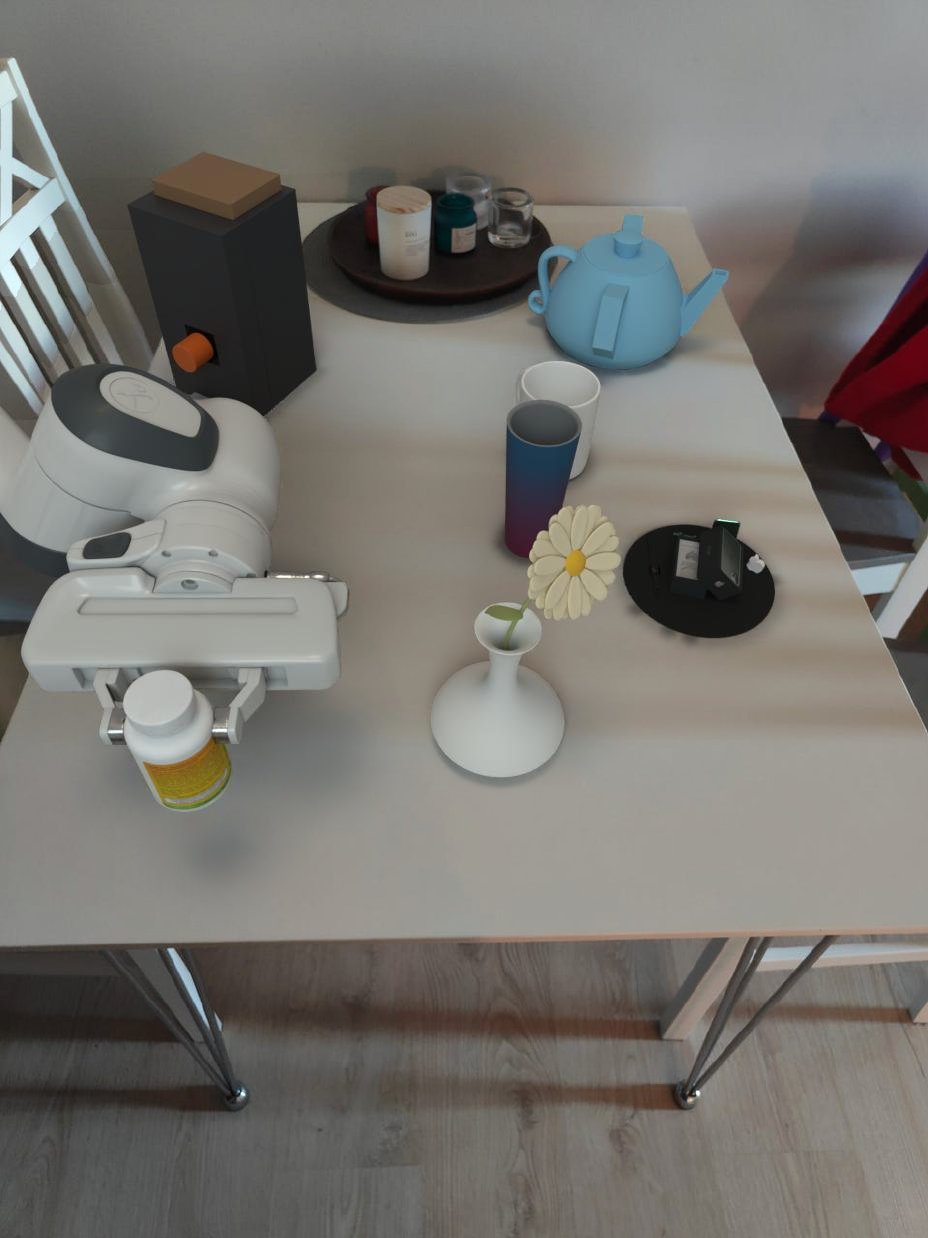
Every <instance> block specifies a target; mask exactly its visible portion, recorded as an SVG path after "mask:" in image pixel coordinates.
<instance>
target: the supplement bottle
mask: <svg viewBox="0 0 928 1238" xmlns="http://www.w3.org/2000/svg"><path fill="white" fill-rule="evenodd" d="M122 706H123V707H122V708H124V711H125V713H126V715H127V716H126V719H125V723H124V737H125V740H126V743H127V745H126V746H127V748H128V750H129V752H130V754H131V756H132V758H133V760H134V761H135V764H136V766H137V768H138V769H139V771H140V773H141V776H142V778H143V780H144V781H145V785H147V787H148V790H149V792H150V793H151V795H152V796H153V798H154V799H155V801H156V802H157V803H158V804H160V806H162V807H164V808H165V809H167V810H170V811H173V812H177V813H190V812H191V813H192V812H196V811H200V810H203V809H205V808H207V807H209V806H211V805H212V804H214V803H215V802H217V800H219V799H220V798H221V797H222V796H223V795H224V793H225V792H226V791H227V789H228V787H229V785H230V783H231V780H232V776H233V765H232V761H231V757H230V755H229V752H228V749H227V746H226V744H216V743H215V742H214V740H215V738H213V736H212V724H213V721H214V720H215V719H214V711H215V710H214V709H213V706H212V704H211V702H210V700H209V699H208V698H207V697H206V696H205V695H204V694H203V693H202V692H201V691H197V690H195V689H193V687H192V685H191V683H190V681H189V680H188V679H187V678H186V677H185V676H184V675H182V674H180V673H178V672H176V671H172V670H157V671H153V672H150V673H147V674H145V675H143V676H141V677H139V678H138V679H137V680H135V681H134V682H133V683H132V684H131V685H130V686H129V688H128V689H127V691H126V693H125V696H124V700H123V702H122Z"/></svg>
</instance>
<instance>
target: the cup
mask: <svg viewBox="0 0 928 1238" xmlns="http://www.w3.org/2000/svg"><path fill="white" fill-rule="evenodd" d="M581 430H582V422H581V419H580V417H579V416H578V414H577V413H576V412H575V411H574V410H572V409H571V408H569V407H568V406H566V405H564V404H561V403H558V402H555V401H550V400H531V401H527V402H524V403H521V404H519V405H517V404H516V405H515V406H514V407H513V408H512V409H511V410H510V411H509V412H508V414H507V416H506V430H505V431H506V439H505V440H506V441H505V497H504V499H505V500H504V501H505V506H504V543H505V546H506V547H507V549H508V550H509V551H510V552H512V553H513V554H515V555H516V556H519V557H522V558H527V559H530V558H529V554H530V551H531V549H532V548H533V544H534V542H535V541H536V539H537V535H538V533H539V532H541V531H547V532H549V521H550V519H551V517H552V516H554V515H558V513H559V511H560V510H561V509H562V508H563V505H564V501H565V497H566V493H567V490H568V485H569V482H570V480H569V478H570V474H571V470H572V466H573V462H574V458H575V454H576V450H577V446H578V442H579V438H580V434H581Z"/></svg>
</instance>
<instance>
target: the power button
mask: <svg viewBox="0 0 928 1238" xmlns="http://www.w3.org/2000/svg"><path fill="white" fill-rule="evenodd" d="M172 353H173V357H174V359H175V361H176V362H177V364H178V365H179V366H180V367H181V368H182V369H184V370H185V371H187V372H194V371H196V370H197V369H198V368H200V367H201V366H202V365H203V364H205V363H206V362H207V361H209V360H210V359H211V358H212V357H213V348H212V346H211V344H210V342H209V341H208V340H207V339H206V338H205V337H204V336H203V335H201V334H199V333H192V334H191V335H189V336H188V337H187V338H185V339H184V340H182V341H181V342H180V343H178V344H177V345H176V346H174V347H173V350H172Z"/></svg>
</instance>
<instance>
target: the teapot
mask: <svg viewBox="0 0 928 1238" xmlns="http://www.w3.org/2000/svg"><path fill="white" fill-rule="evenodd" d="M643 223H644V215H638V214H630V213H629V214H628V213H624V215H623V221H622V227H621V229H620V230H617V231H615V232H613V233H612V232H611V233H604V234H600V235H596V236H594V237H592V238H591V239H589V240H587V241H586V242H585V243H584V244H583V245H582V246H580V247H579V249H578V250H577V249H575V248H574V247H572V246H570V245H567V244H555V245H552V246H550V247H548V248H547V249H545V250H544V251H542V253H541V255H540V257H539V259H538V261H537V262H538V263H537V279H538V284H539V289H535V290H533V291H532V292H531V293H530V294H529V295H528V298H527V306H528V309H529V310H530V311H531V312H532V313H534V314H535V315H537V316H538V315H540V316H543V315H544V321H545V325H546V329H547V330H548V332H549V335H550V336H551V337H552V339H553V340H554V342H556V344H557V346H559V347H560V348H561V350H563V352H564V353H565V354H566V355H568V356H569V357H571V358H573V359H574V360H576V361H579V362H580V363H583V364H586V365H588V366H592V367H594V368H595V367H596V368H600V369H606V370H630V369H631V370H632V369H638V368H641V367H644V366H647V365H649V364H652V363H653V362H655V361H657V360H659V359H660V358H662V357H663V356H665V355H666V354H668V353H669V352H670V351H672V349H673V348H674V347H675V346H676V345H677V343H678V342H679V341H680V339H681V337H686V336H687V334H688V333H689V332H690V331H691V329H692V327H693V326H694V325H695V323H696V322H697V321H698V320H699V318H700V317H701V315H703V313H704V311H705V310H706V309H707V308H708V307H709V305H710V304H711V303H712V301H713V300H714V298H715V297H716V296H717V294H719V292H720V290H721V289H722V287H723V286H724V285H725V284H726V283H727V281H728V280H729V277H730V270H726V269H722V268H721V269H720V268H715V267H713V269H712V270H711V271H710V272H709V273H708V275H706V276H705V277H704V278H703V279H702V280H701V281H700V282H699V283H698V284H697V285H696V286H695V287H693V289H692V290H691V291H689V293H683V288H682V285H681V282H680V279H679V276H678V273H677V271H676V268H675V266H674V263H673V261H672V259H671V257H670V255H669V253H668V252H667V250H666V249H665V248H664V247H663V246H662V245H660V244H659V243H658V242H656V241H654V240H653V239H650V238H648V237H644V235H643V234H642V231H643ZM555 257H560V258H564V259H566V260H568V262H567V263H566V265H564V267H563V268H562V269H561V271H560V272H559V274H558V276H557V277H556V279H555V281H554V283H553V285H552V287H551V286H550V280H549V275H548V263H549V260H550V259H551V258H555ZM536 298H540V299H541V303H540V302H538V301H537V300H536Z"/></svg>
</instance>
